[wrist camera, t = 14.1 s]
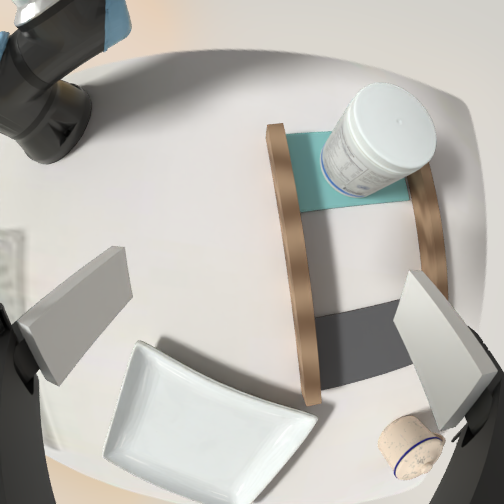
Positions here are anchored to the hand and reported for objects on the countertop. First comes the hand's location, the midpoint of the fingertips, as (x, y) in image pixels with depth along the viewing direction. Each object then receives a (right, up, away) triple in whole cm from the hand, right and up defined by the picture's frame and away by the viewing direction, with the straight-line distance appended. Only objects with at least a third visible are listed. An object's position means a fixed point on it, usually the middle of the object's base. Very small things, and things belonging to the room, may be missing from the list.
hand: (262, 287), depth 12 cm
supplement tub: (+13, +13, +23) cm, 30 cm away
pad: (+13, +13, +24) cm, 30 cm away
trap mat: (+17, -11, +23) cm, 31 cm away
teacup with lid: (+27, -31, +23) cm, 47 cm away
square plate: (-9, -28, +24) cm, 38 cm away
